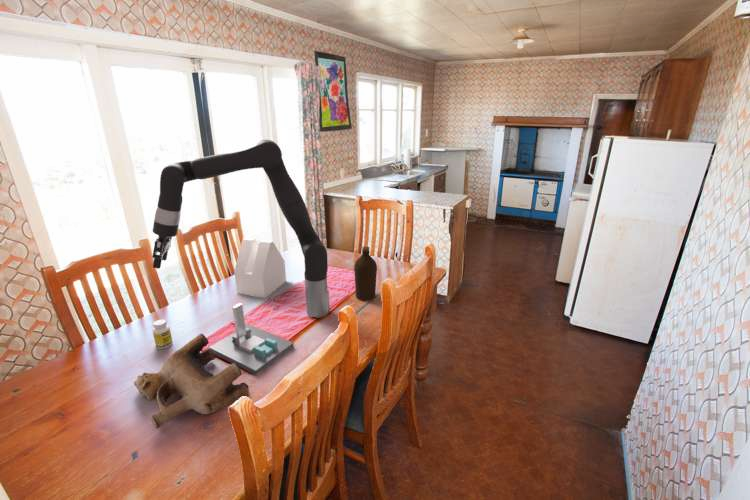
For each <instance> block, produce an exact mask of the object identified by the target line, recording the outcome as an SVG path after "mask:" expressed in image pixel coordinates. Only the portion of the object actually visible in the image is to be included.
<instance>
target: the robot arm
mask: <svg viewBox="0 0 750 500" xmlns="http://www.w3.org/2000/svg"><path fill="white" fill-rule="evenodd" d="M282 155H283V153H282V150H281V148H280V146H279V145H278V144H277V143H276V142H275V141H273V140H271V139H262V140H259V142H257V143H256V145H255V146H253V147H250V148H247V149H244V150H240V151H236V152H235V151H234V152H229V153H221V154H213V155H208V156H207V155H206V156H203V157H199V158H195V159H193V160H192V159H191V160H186V161H180V162H173V163H170V164H168V165H167V166H164V167H163V168H162V170H161V173H160V181H159V197H158V201H157V208H156V210H155V214H154V218H153V219H154V221H153V225H152V226H153V227H152V232H153V234H155V235H157V236H158V237H157V238H156V239H155V241H154V248H153V253H152V254H151V255H152V259H153V262H152V263H153V264H152V268H153V269H157V270H158V269H159V270H160V268H161V267H162V261H167V257H168V252H169V250H170V248H171V247H172V246H171V245H172V239H173V237H176V236H177V235H178V232H179V225H180V221H181V210H182V203H183V196H182V195H183V188H184V185H185V183H186V182H191V181H195V180H207V179H211V178H215V177H220V176H223V175H227V174H231V173H235V172H239V171H243V170H249V169H251V170H252V169H261V168H262V169H263V171H264V173H265V174H266V176H267V178H268V179H269V182H270V184H271V187H272V191H273V195H274V197H275V199H276V201H277V204H278V206H279V208H280V211H281V212H282V215H283V216H284V218H285V220H286V222H287V223H288V224H289V226H290V227H291V228H292V230H293V231H294V233H295V235H296V237H297V239H298V243H299V246H300V248H301V252H302V254H303V257H304V285H305V286H304V288H305V302H306V305H305V306H306V315H307V314H308V315H309V316H308V315H307V316H308V317H310V316H311V317H310V318H312V317H316V318H315V319H317V318H318V319H320V318H324V317H325V316H327V315H328V313H329V311H330V292H329V290H328V276H327V275H328V274H327V273H328V269H329V267H328V252H327V247H325V245H324V243H323V242H322V240H321V239H320V238H319V236H318V233H316V231H315V229H314V227H313V224H312V222H311V217H310V213H309V211H308V208H307V205H306V203H305V201H304V199H303V196H302V194H301V193H300V191H299V189H298V187H297V186H296V184H295V182H294V181H293V179H292V177H291V176H290V174H289V172H288V171H287V168H286V166H285V163H284V159H283V157H282ZM158 253H159V254H158Z"/></svg>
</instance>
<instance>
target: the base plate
mask: <svg viewBox="0 0 750 500" xmlns="http://www.w3.org/2000/svg"><path fill="white" fill-rule="evenodd" d="M245 329H246V335H245V336H243V337H241V338H240V339H239V336H237V334H236V331H234V332H232V333H231V334H229V335H227V336H225V337H223V338H222V339H221V340H219V341H217V342H215V343H213V344H212V345H211V346H209V347H208V348H209V349H210V350H211V351H212V352H213V353H214V355H215V356H217V357H219V358H221V359H223V360H225V361H227V362H229V363H231V364H232V363H236V365H237V366H238V367H239V368H241V369H243V370H244V371H247V372H249V373H251V374H253V375H255V376H258V375H259V374H260V373H262V372H263V371H264V370H266V369H267V368H268V367H270V366H271V365H272V364H274V363H275V362H276V361H278V359H280V358H282V357H283V356H284V355H285V354H286V353H288V352H290V351H291V350H292V349H294V342H293V341H290V340H288V339H285V338H284V337H280V336H279V335H276V334H273V333H271V332H269V331H266V330H264V329H261V328H260V327H257V326H254V325H252V324H250V323H248V324H245Z"/></svg>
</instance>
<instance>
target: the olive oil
mask: <svg viewBox="0 0 750 500" xmlns="http://www.w3.org/2000/svg"><path fill="white" fill-rule="evenodd" d="M361 249H362V250H361V255H360V256H359V257H358V259H357V260H355V263H354V266H353V269H354V271H353V272H354V283H355V286H354V287H355V290H354V291H355V298H356V299H357V300H359V301H365V300H368V301H372V300H373V298H374V297H375V298H376V288H377V274H378V272H377V271H378V266H377V262H376V260H375V259H374V258H373V257H372V256H371V255H370V247H369V246H362V248H361ZM375 298H374V299H375Z"/></svg>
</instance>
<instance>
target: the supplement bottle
mask: <svg viewBox="0 0 750 500" xmlns="http://www.w3.org/2000/svg"><path fill="white" fill-rule="evenodd" d="M152 326H153V329H152V334H153V339H154V344H155V347H156V348H157V349H160V350H161V349H167V348H169V347H170V346H171V345H172V344H173V338H172V333H171V329H170V326H169V324H167V320H166V319H158V320H156V321H154V322H153V325H152Z"/></svg>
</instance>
